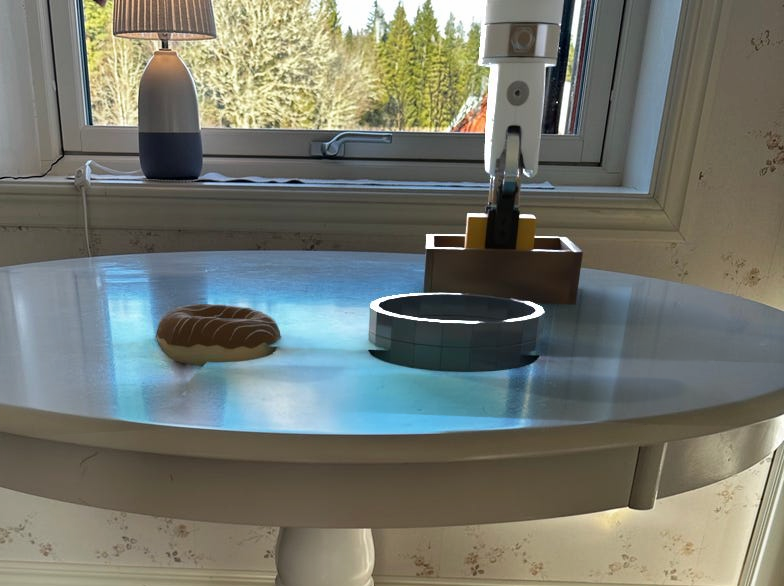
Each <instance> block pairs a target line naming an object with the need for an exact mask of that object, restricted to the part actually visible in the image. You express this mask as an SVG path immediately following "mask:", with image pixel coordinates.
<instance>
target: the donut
mask: <svg viewBox="0 0 784 586" xmlns="http://www.w3.org/2000/svg"><path fill="white" fill-rule="evenodd" d="M155 337H156V339H157V341H158V342H157V343H158V346H159V349H160V350H161V351H162V352H163V354H165V355H166V356H167V358H169V359H172V361H176V362H178V363H181V364H185V365H189V366H195V367H204V366H205V365H206V364H207V363H234V362H244V361H252V360H258V359H262V358H265V357H268V356H271V355H273V354H274V353H275V352H276V351H277V349H278V346H273V345H272V344H274V343H276V342H278V341H279V340H280V339H281V338H282V336H281V330H280V328H279V325H278V323H277V321H276V320H275V319H274V318H273V317H271V316H270V315H268V314H266V313H265V312H263V311H261V310H256V309H253V308H251V307H245V306H243V307H242V306H235V305H227V304H212V303H211V304H210V303H197V304H190V305H180V306H178V307H175V308H174V309H172V310H170V311H168V312H167V313H165V314H164V315H163V316H162V317H161V319H160V320H159V322H158V325H157V329H156V333H155Z"/></svg>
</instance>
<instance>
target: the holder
mask: <svg viewBox="0 0 784 586" xmlns="http://www.w3.org/2000/svg"><path fill="white" fill-rule="evenodd" d="M465 235H466V234H440V233H439V234H438V233H437V234H436V233H435V234H432V233H431V234H429V233H427V234H426V238H425V239H426V241H425V255H424V268H423V269H424V272H423V288H422V289H423V290H422V293H462V294H479V295H491V296H499V297H506V298H513V299H518V300H522V301H527V302H531V303H533V304H536V305H538V304H541V305H544V304H545V305H574V306H575V305H577V298H578V292H579V291H578V290H579V286H580V285H579V284H580V278H581V277H580V276H581V268H582V263H583V257H584V256H583V254H584V251H582V249H580V248H579V247H578V246H577V245H576V244H575V243H573V242H572V241H571V240H570V239H569V238H568V237H567V236H535V238H534V246H533V250H519V249H474V248H464V246H465Z"/></svg>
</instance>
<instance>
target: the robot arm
mask: <svg viewBox="0 0 784 586" xmlns="http://www.w3.org/2000/svg"><path fill="white" fill-rule="evenodd" d="M564 3H565V0H484V2H483V10H482V11H483V12H482V24H481V25H482V26H481V34H480V35H481V36H480V47H479V59H478V66H480V67H490V71H489V83H488V93H487V107H486V108H487V109H486V121H485V139H484V140H485V143H484V170H485V172H486V173H487V174H488V175H489V177H490V180H489V190H488V200H487V205H486V206H485V212H484V214H488V218H487V228H486V238H485V249H516V243H517V234H518V225H519V216H520V215H521V210H519V208H520V200H521V199H520V198H521V190H522V189H521V188H522V180H523V178H522V177H523V174H524V176H526V177H528V178H531V179H532V178H534V177H535V176H536V175H537V174H538V169H539V160H540V159H539V158H540V148H541V147H540V144H541V134H542V124H543V115H544V104H545V92H546V68H548V67H556V66H557V63H558V52H559V45H560V44H559V43H560V36H561V25H562V19H563V12H564Z"/></svg>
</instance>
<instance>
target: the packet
mask: <svg viewBox="0 0 784 586" xmlns="http://www.w3.org/2000/svg"><path fill="white" fill-rule="evenodd" d="M487 218H488V214H485V213H471V212H470V213H469V212H468V213H467V214H466V226H465V234H464V235H465V246H464V248H474V249H485V238H486V228H487ZM537 221H538V218H537V217H536V216H535V215H534V214H520V216H519V225H518V234H517V243H516V249H519V250H533V246H534V238H535V237H536V229H537V228H536V227H537Z"/></svg>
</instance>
